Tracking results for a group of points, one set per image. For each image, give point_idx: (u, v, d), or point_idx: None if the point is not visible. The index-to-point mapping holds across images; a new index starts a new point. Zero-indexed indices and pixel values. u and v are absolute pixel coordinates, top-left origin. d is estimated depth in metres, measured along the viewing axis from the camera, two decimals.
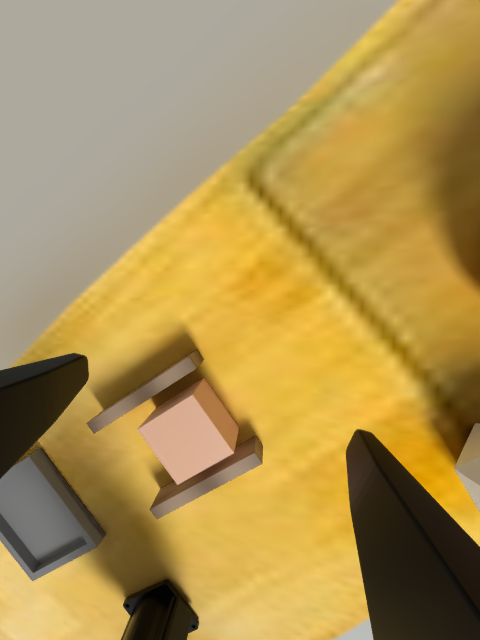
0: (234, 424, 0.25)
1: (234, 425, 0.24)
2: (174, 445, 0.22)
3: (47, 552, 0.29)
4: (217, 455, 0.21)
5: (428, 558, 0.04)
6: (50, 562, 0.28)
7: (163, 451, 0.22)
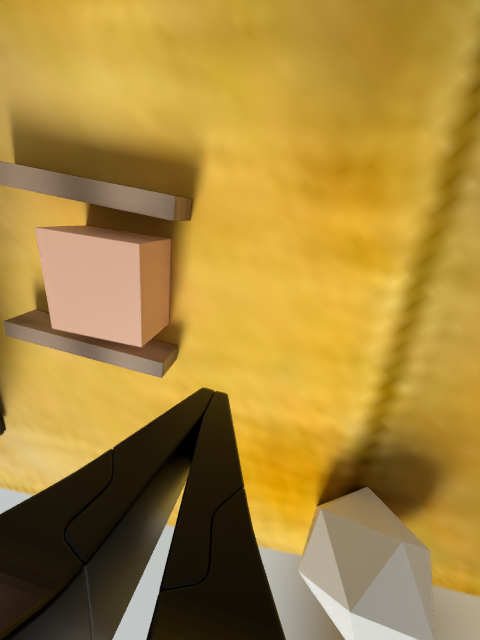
0: (166, 316, 0.18)
1: (165, 318, 0.18)
2: (74, 285, 0.15)
3: None
4: (120, 334, 0.15)
5: None
6: None
7: (56, 281, 0.15)
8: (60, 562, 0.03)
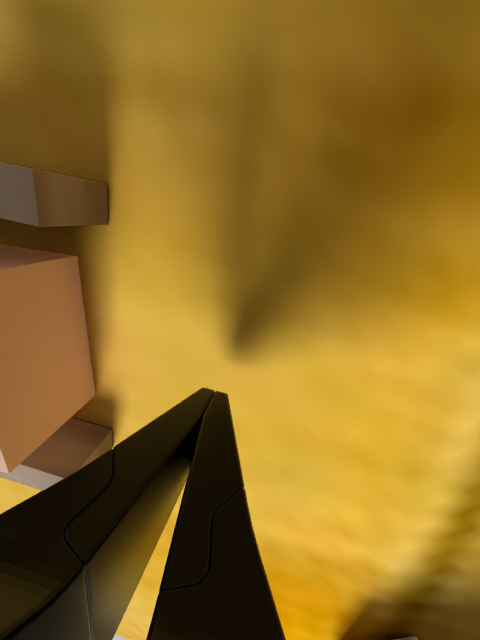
0: (86, 387, 0.11)
1: (85, 390, 0.11)
2: None
3: None
4: None
5: None
6: None
7: None
8: (60, 562, 0.03)
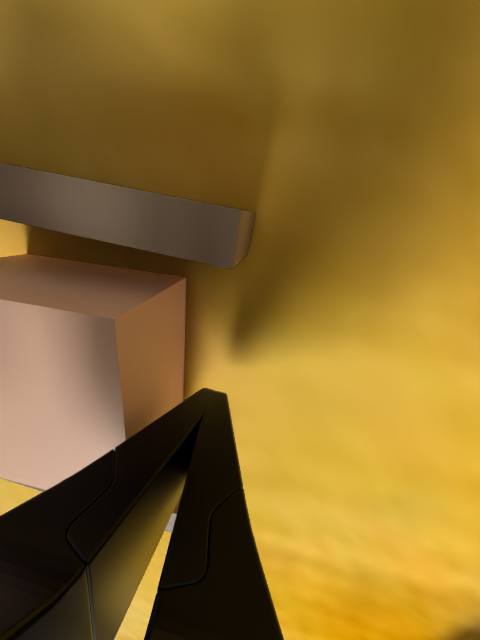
0: None
1: None
2: None
3: None
4: None
5: None
6: None
7: None
8: (62, 563, 0.03)
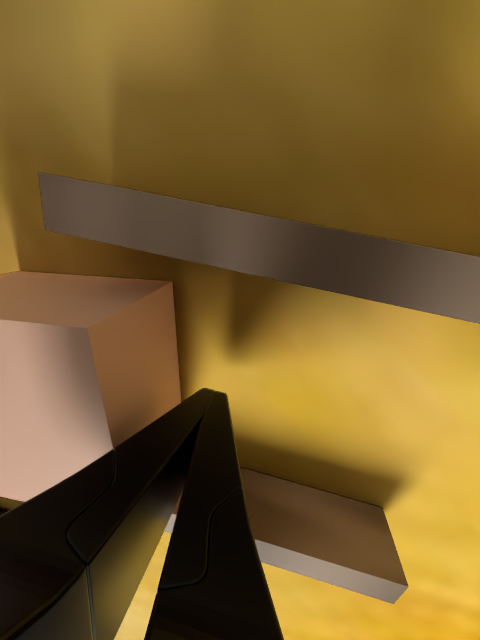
0: None
1: None
2: None
3: None
4: None
5: None
6: None
7: None
8: (62, 563, 0.03)
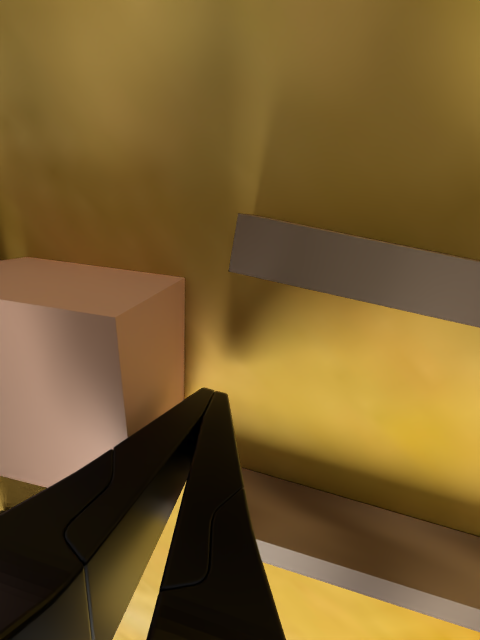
0: None
1: None
2: None
3: None
4: None
5: None
6: None
7: None
8: (61, 562, 0.03)
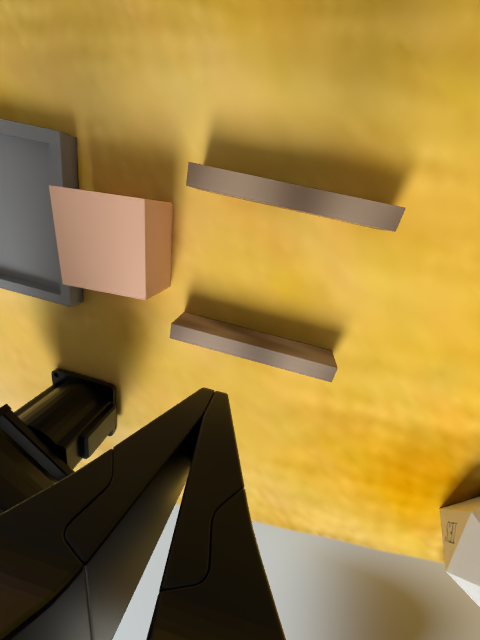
0: (168, 278, 0.19)
1: (167, 279, 0.19)
2: (83, 240, 0.16)
3: None
4: (126, 288, 0.17)
5: None
6: None
7: (67, 237, 0.16)
8: (60, 561, 0.03)
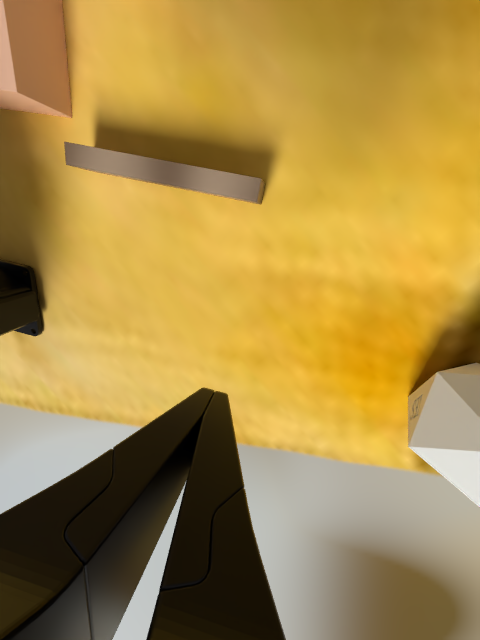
0: (65, 102, 0.16)
1: (65, 103, 0.16)
2: None
3: None
4: None
5: None
6: None
7: None
8: (61, 562, 0.03)
